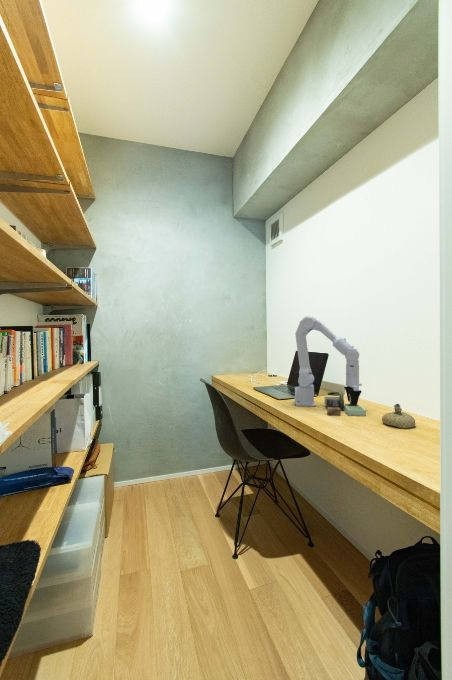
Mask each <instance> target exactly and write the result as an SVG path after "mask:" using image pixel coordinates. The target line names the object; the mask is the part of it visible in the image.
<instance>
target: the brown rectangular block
mask: <svg viewBox="0 0 452 680" xmlns="http://www.w3.org/2000/svg"><path fill="white" fill-rule="evenodd" d="M326 407H327V408H326V409H327V412H326V414H327V415H328V416H331V417H333V416H334V417H341V416H342V415H341V414H342V413H341V412H342V410H341V409H340V408H339V406H333V407H328V406H326Z"/></svg>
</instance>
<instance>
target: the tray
mask: <svg viewBox="0 0 452 680" xmlns="http://www.w3.org/2000/svg"><path fill="white" fill-rule="evenodd" d="M344 412H345V413H346V415H347V416H352V417H367V409H365V407H363V406H360V405H359V406H345V405H344Z"/></svg>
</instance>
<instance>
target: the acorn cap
mask: <svg viewBox="0 0 452 680" xmlns="http://www.w3.org/2000/svg"><path fill="white" fill-rule="evenodd" d="M393 407H394V408H393V409H394V411H392V412H386V413H384V414H383V416H382V417H381V421H382V423H384V424H385V425H387V426H392V427H395V428H396V427H397V428H399V429H413V428H414V427H415V426H416V420H415V418H414V417H413V416H412V415H411V414H409V413H407V412H404V411H402V410H403V409H402V408H401V405H400V403H395V404H393Z"/></svg>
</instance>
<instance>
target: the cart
mask: <svg viewBox="0 0 452 680" xmlns="http://www.w3.org/2000/svg"><path fill="white" fill-rule="evenodd" d="M338 393H339V394H338V396H324V399H323V401H324V402H323V403H324V405H325V407H339V408H340V409H341V411H342V410H344V411H345V399H344V398H345V397H344V393H343V392H342V391H339V392H338Z"/></svg>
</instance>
